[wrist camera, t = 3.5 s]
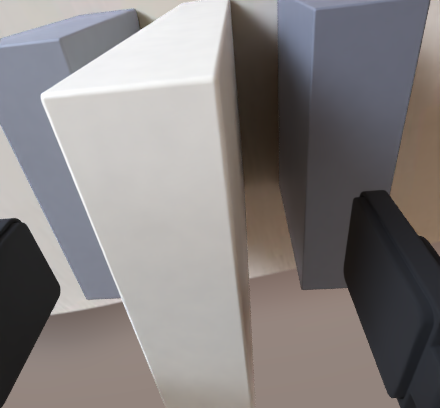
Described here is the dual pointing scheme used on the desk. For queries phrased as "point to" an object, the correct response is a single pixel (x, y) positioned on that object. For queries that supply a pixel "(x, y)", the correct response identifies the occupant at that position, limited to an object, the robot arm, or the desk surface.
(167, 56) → the thin book
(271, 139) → the desk surface
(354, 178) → the grey books
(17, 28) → the desk surface
